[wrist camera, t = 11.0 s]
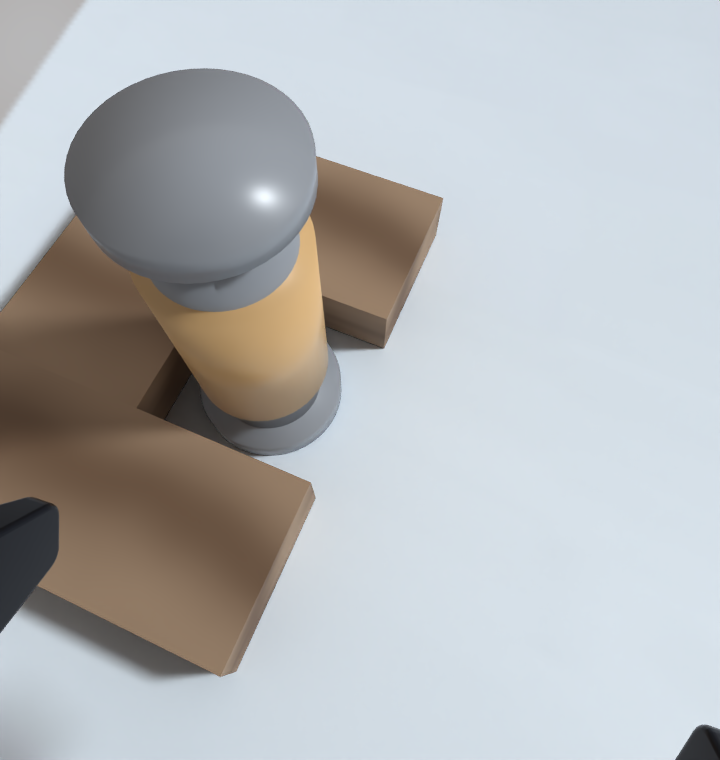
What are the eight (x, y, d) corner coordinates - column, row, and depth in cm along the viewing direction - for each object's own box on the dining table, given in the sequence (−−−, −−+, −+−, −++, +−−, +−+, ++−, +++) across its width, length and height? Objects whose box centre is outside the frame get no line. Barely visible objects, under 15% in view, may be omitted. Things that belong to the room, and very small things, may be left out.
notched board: (236, 671, 20) (220, 676, 18) (-91, 510, 22) (-143, 496, 20) (436, 234, 27) (443, 198, 25) (176, 146, 29) (161, 105, 27)
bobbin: (306, 477, 23) (249, 310, 11) (181, 424, 23) (-2, 214, 12) (362, 357, 25) (366, 104, 13) (244, 312, 25) (145, 36, 14)
